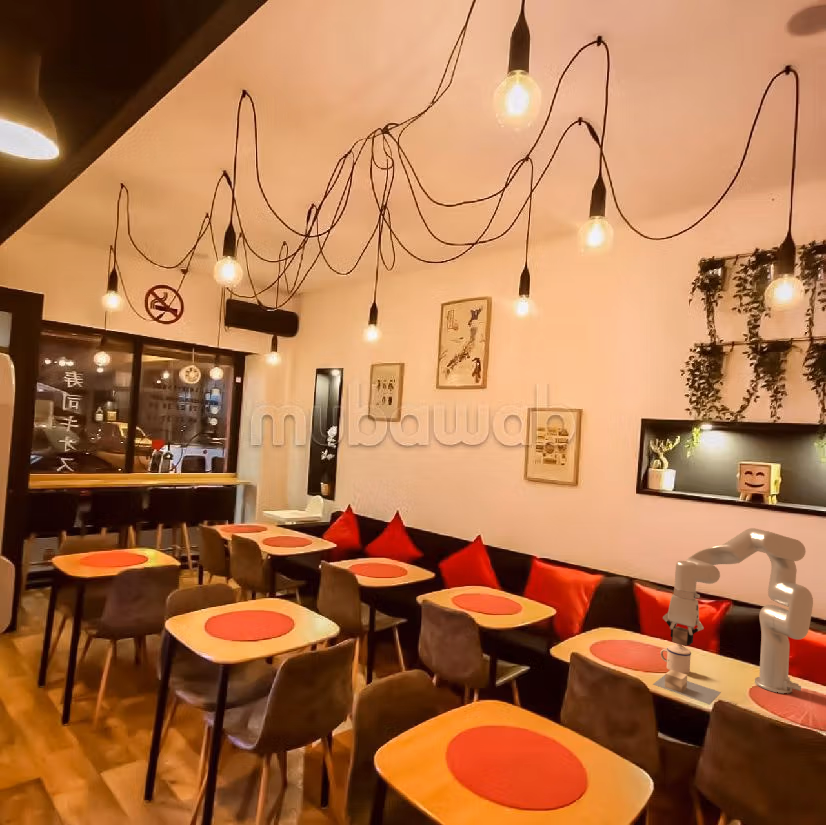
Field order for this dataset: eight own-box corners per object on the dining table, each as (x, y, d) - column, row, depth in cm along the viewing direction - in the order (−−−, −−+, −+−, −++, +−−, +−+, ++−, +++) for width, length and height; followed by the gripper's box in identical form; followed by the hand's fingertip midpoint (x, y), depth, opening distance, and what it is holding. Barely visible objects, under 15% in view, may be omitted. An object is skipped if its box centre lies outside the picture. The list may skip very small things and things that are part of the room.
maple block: (686, 688, 214) (687, 674, 214) (681, 692, 210) (682, 679, 210) (670, 682, 218) (670, 669, 218) (664, 686, 214) (665, 673, 214)
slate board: (721, 694, 213) (721, 692, 213) (709, 707, 202) (709, 704, 202) (666, 676, 226) (666, 673, 226) (652, 686, 215) (652, 684, 215)
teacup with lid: (693, 673, 232) (695, 644, 232) (684, 678, 226) (686, 649, 226) (664, 662, 241) (666, 635, 241) (655, 667, 235) (656, 639, 235)
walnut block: (690, 643, 215) (691, 630, 215) (686, 646, 212) (687, 632, 212) (676, 639, 219) (677, 626, 219) (672, 642, 215) (673, 628, 215)
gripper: (711, 598, 213) (708, 647, 212) (665, 587, 224) (662, 633, 224) (705, 601, 207) (702, 651, 207) (658, 590, 219) (655, 637, 218)
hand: (681, 641), depth 215 cm, fingers closed on walnut block, 4 cm apart
